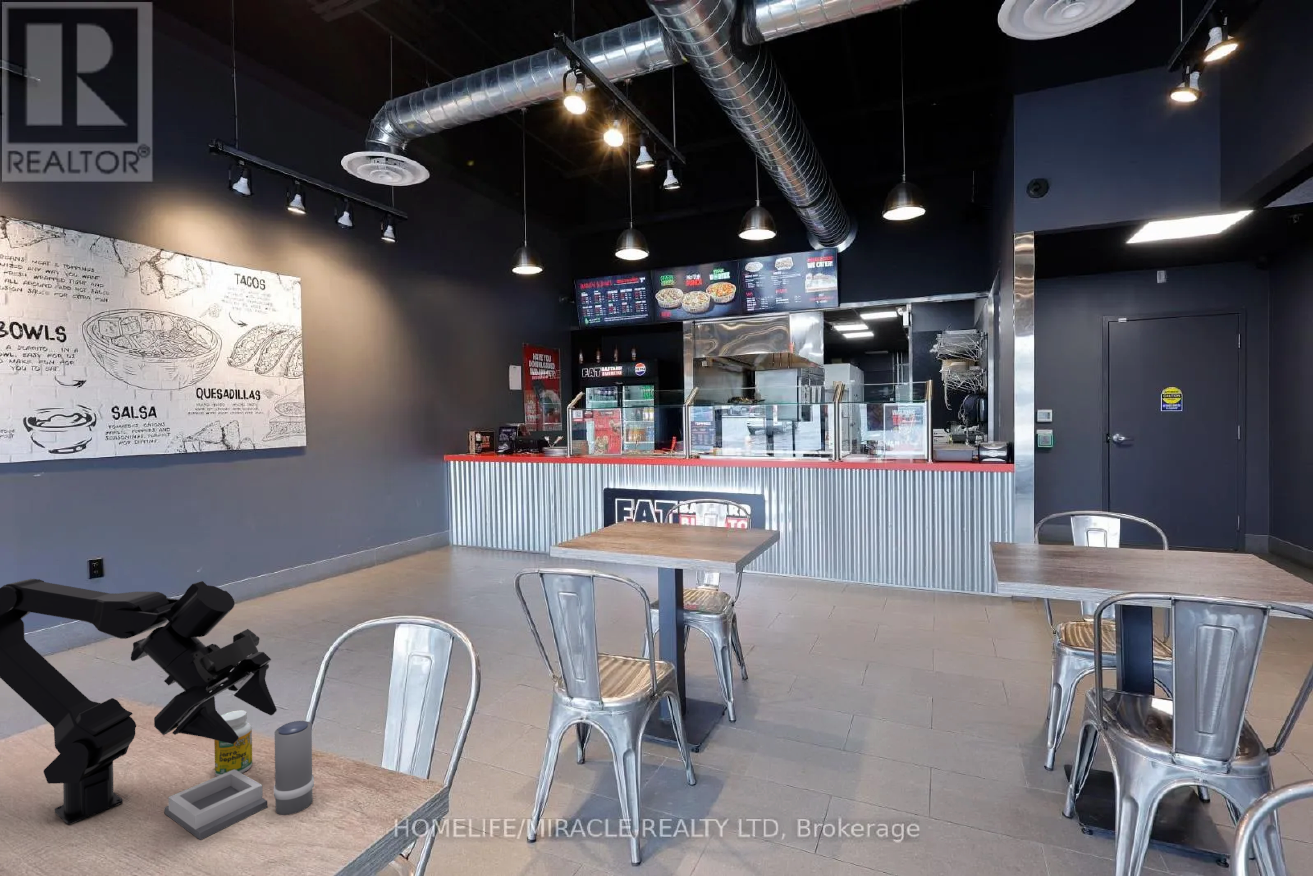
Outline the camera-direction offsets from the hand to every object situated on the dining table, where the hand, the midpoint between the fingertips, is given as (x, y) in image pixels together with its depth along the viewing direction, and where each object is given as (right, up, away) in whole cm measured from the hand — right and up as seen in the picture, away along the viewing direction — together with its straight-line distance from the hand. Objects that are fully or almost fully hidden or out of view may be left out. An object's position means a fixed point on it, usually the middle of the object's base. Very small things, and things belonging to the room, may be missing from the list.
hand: (256, 726), depth 95 cm
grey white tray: (-5, -12, -1) cm, 14 cm away
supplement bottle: (-11, -13, +10) cm, 20 cm away
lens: (+6, -12, 0) cm, 14 cm away
